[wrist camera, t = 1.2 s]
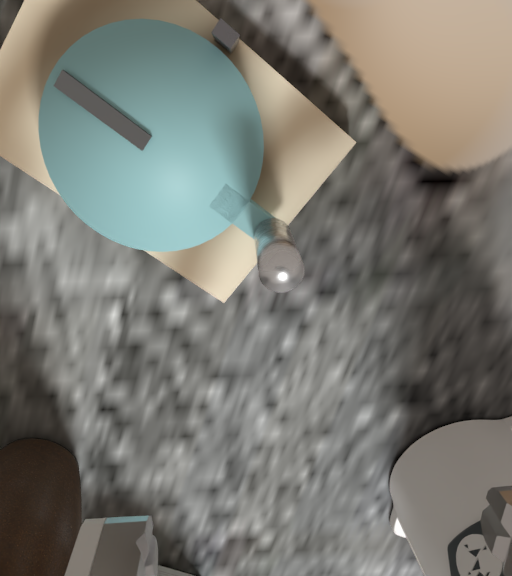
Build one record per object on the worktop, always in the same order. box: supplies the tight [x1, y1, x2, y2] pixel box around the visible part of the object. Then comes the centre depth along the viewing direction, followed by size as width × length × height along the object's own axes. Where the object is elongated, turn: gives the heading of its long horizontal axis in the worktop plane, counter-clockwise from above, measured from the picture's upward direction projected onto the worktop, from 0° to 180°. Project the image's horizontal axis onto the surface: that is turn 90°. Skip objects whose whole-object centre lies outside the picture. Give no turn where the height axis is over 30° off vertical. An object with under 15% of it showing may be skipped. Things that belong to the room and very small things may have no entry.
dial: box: [39, 19, 305, 292], centre depth 25 cm, size 17×13×8 cm
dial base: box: [0, 0, 356, 303], centre depth 27 cm, size 20×14×6 cm
